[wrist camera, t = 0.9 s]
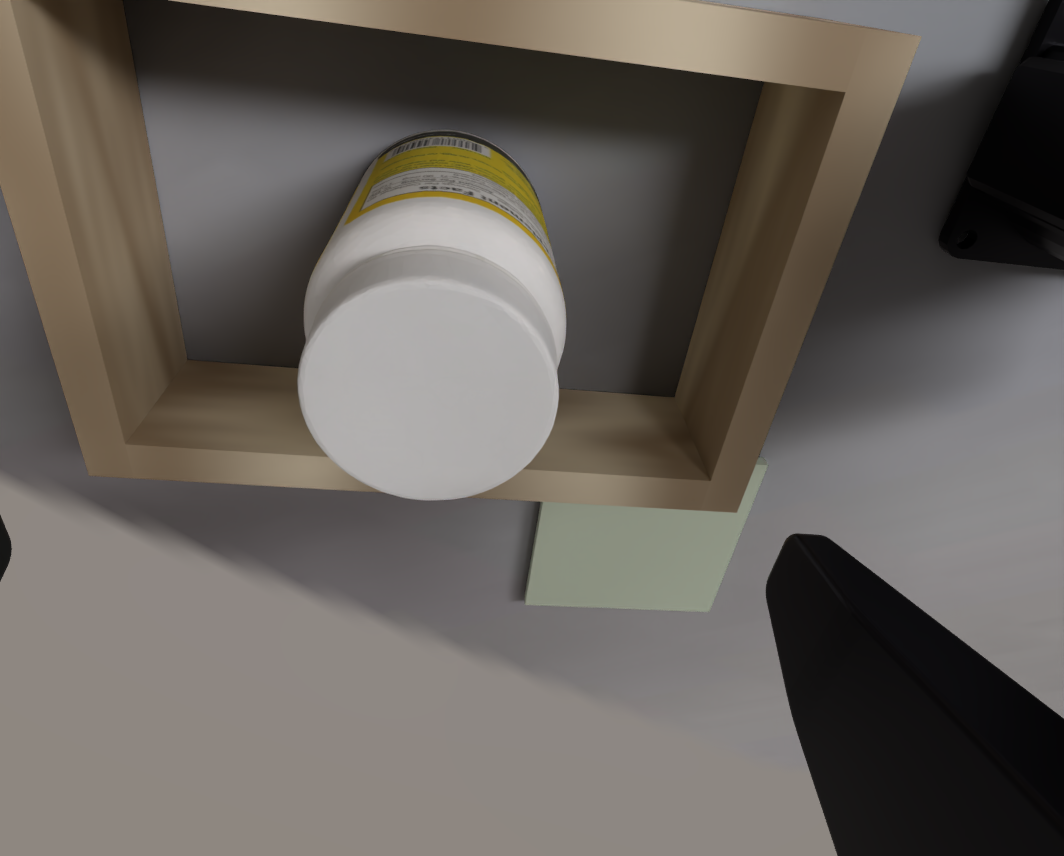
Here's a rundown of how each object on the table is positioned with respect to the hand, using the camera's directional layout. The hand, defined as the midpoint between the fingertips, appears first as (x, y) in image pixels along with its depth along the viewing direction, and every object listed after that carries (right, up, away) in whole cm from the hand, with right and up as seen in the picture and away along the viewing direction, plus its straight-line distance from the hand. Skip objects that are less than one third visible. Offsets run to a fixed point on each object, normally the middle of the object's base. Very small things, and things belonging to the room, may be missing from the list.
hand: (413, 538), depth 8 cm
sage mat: (+5, -2, +16) cm, 17 cm away
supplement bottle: (-1, +6, +10) cm, 12 cm away
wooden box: (-1, +6, +9) cm, 11 cm away
